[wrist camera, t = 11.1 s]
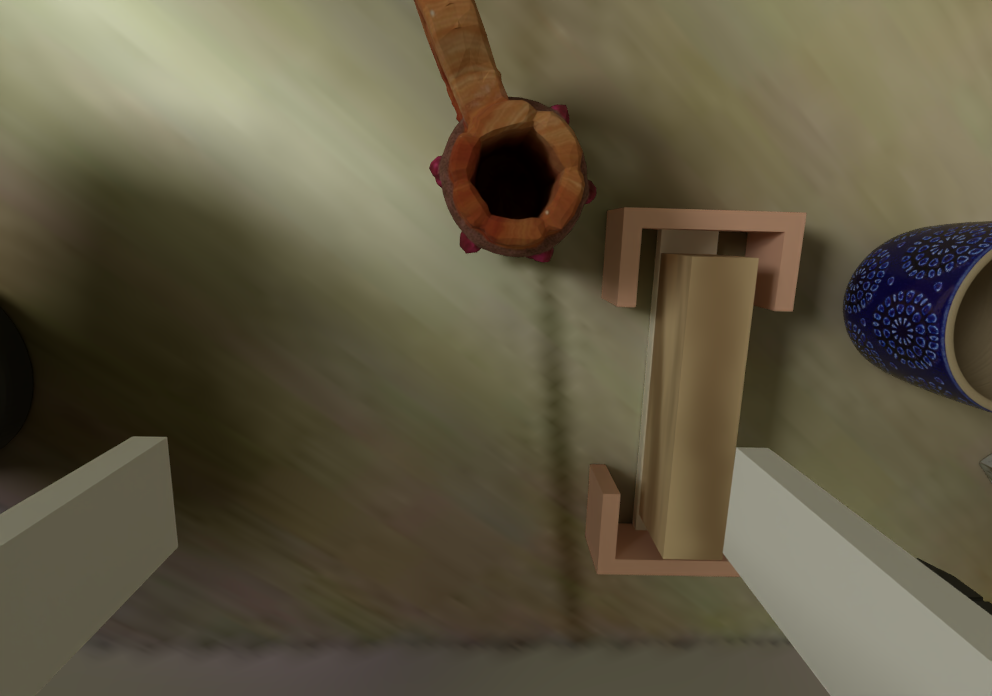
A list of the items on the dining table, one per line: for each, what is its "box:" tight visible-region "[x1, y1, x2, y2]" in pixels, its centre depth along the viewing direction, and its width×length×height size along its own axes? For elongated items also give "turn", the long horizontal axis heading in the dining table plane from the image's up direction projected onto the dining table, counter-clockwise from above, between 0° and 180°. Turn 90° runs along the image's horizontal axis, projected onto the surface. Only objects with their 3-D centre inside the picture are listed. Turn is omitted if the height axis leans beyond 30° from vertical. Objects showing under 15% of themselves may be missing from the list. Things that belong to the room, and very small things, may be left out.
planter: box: [843, 221, 992, 413], centre depth 35 cm, size 11×11×11 cm
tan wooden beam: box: [639, 253, 759, 560], centre depth 38 cm, size 4×20×6 cm, turn 179°
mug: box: [414, 0, 596, 262], centre depth 31 cm, size 15×8×15 cm, turn 23°
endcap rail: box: [585, 207, 807, 577], centre depth 39 cm, size 11×25×5 cm, turn 178°
